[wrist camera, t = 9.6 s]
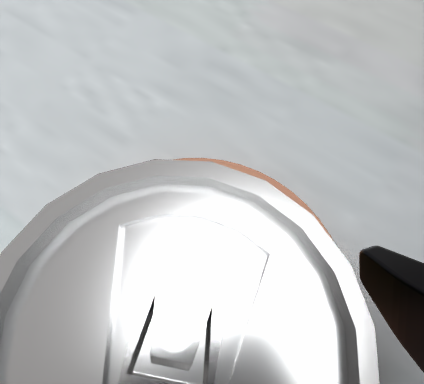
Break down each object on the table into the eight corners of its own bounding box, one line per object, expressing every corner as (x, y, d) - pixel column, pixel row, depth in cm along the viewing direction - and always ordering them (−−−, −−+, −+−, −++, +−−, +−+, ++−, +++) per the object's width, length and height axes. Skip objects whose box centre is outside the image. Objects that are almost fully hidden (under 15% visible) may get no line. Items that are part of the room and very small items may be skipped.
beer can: (247, 395, 15) (387, 715, 3) (118, 367, 15) (-153, 586, 4) (266, 263, 16) (411, 182, 5) (149, 240, 17) (26, 110, 5)
